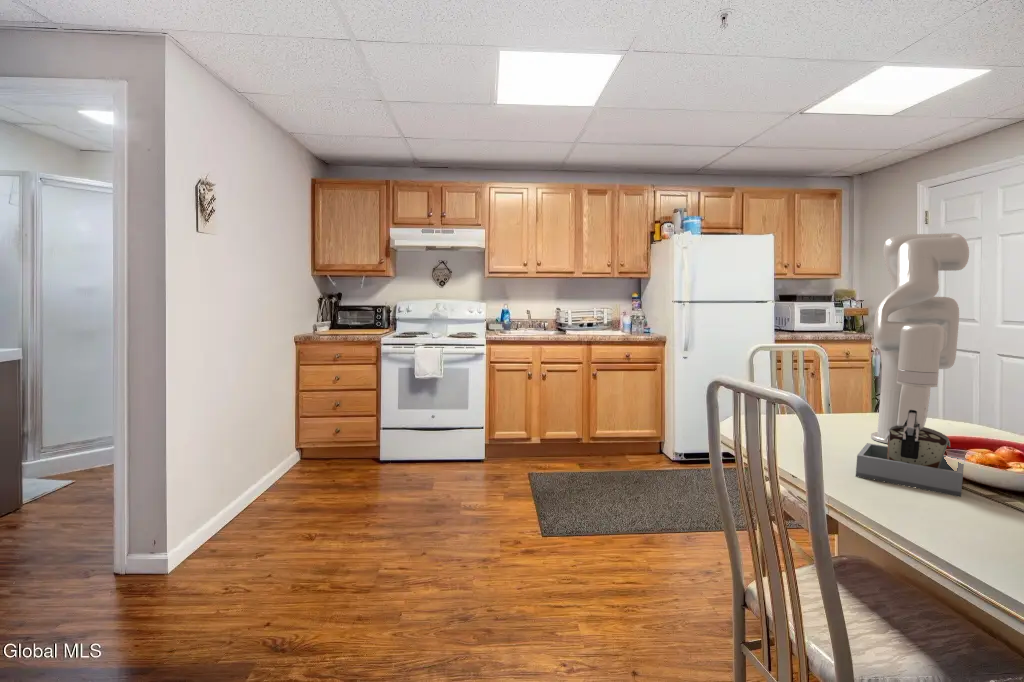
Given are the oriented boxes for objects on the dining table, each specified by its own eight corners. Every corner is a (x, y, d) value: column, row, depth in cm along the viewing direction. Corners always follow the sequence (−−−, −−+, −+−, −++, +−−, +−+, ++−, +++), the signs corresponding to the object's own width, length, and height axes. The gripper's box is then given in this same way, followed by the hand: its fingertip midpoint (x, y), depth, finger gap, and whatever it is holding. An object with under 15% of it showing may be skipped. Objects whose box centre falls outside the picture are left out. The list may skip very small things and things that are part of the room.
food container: (933, 464, 130) (941, 426, 127) (943, 478, 124) (952, 438, 121) (873, 458, 134) (879, 421, 131) (880, 471, 128) (886, 432, 125)
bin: (865, 462, 139) (867, 443, 138) (962, 479, 127) (964, 458, 126) (855, 476, 127) (857, 455, 127) (960, 496, 115) (963, 473, 115)
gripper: (901, 373, 134) (895, 443, 136) (892, 380, 121) (886, 458, 122) (939, 376, 129) (933, 449, 131) (935, 384, 116) (928, 466, 118)
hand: (910, 453), depth 127 cm, fingers open, 7 cm apart
